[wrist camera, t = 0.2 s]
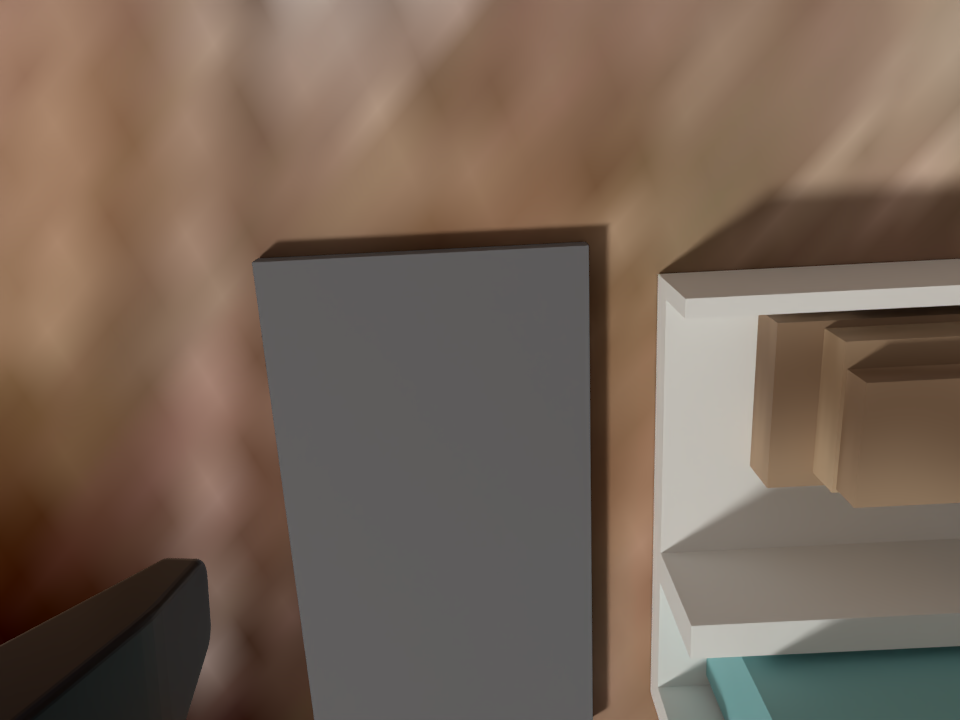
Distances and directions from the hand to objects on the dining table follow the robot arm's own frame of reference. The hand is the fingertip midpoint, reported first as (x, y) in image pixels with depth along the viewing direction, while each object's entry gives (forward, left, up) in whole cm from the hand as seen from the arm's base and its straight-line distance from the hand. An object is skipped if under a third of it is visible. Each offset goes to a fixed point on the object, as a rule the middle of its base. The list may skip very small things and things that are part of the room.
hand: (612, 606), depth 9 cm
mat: (-6, +3, -14) cm, 16 cm away
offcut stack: (-3, -11, -13) cm, 18 cm away
